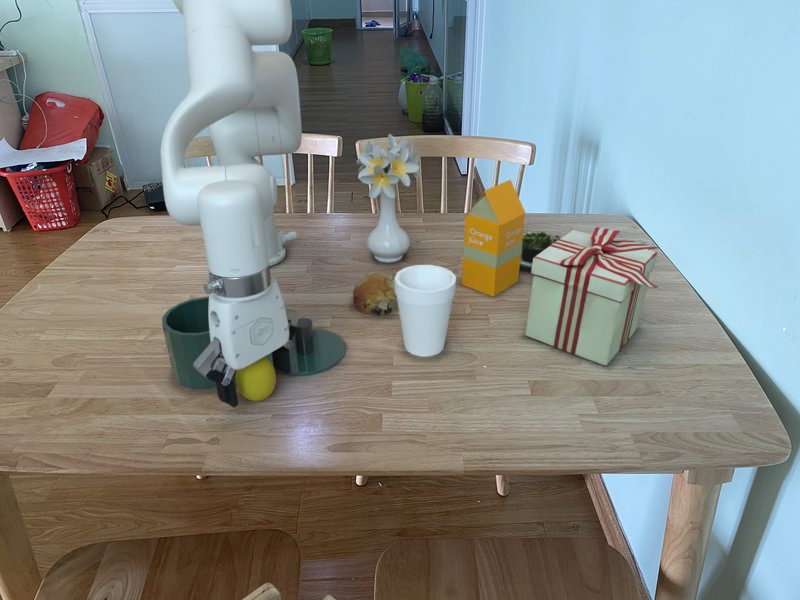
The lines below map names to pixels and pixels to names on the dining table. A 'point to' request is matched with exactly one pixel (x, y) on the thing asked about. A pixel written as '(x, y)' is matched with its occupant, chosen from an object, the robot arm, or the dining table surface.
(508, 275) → the orange juice
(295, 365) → the lid
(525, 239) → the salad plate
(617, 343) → the gift box
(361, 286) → the bread roll
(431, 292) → the foam cup
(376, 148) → the flower vase
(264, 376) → the lemon
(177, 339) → the pot
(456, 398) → the dining table surface
